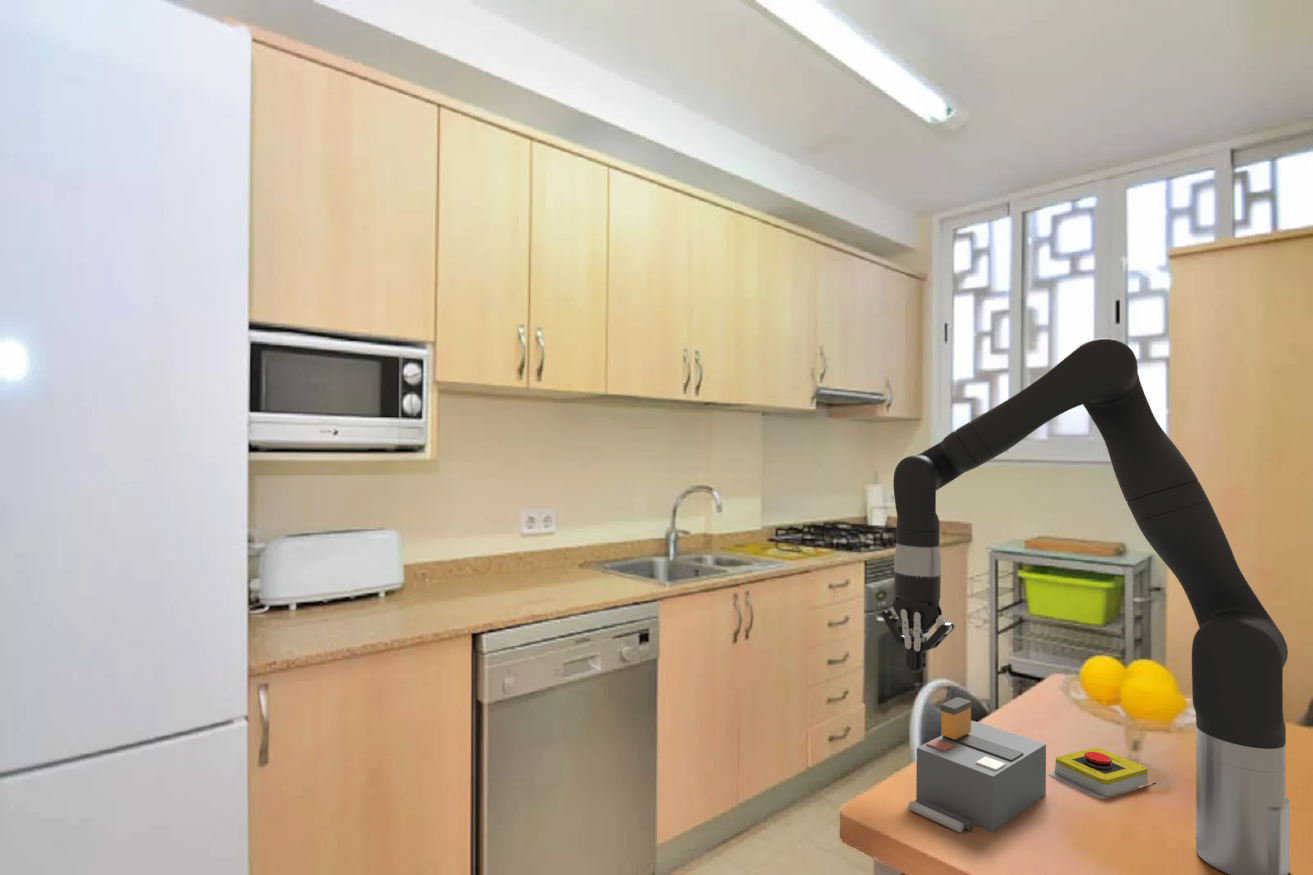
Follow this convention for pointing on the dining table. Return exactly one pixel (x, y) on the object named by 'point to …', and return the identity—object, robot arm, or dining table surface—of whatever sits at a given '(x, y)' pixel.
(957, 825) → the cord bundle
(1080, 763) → the emergency button
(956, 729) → the breaker handle
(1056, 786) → the dining table surface
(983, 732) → the breaker box
